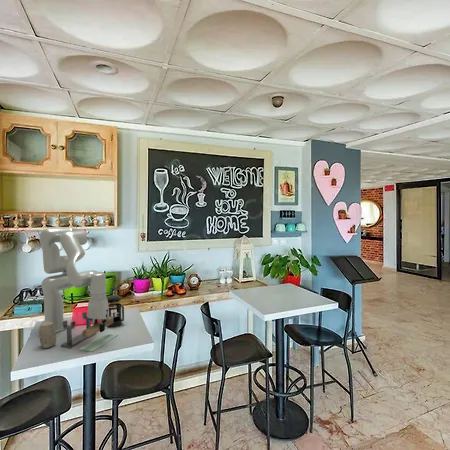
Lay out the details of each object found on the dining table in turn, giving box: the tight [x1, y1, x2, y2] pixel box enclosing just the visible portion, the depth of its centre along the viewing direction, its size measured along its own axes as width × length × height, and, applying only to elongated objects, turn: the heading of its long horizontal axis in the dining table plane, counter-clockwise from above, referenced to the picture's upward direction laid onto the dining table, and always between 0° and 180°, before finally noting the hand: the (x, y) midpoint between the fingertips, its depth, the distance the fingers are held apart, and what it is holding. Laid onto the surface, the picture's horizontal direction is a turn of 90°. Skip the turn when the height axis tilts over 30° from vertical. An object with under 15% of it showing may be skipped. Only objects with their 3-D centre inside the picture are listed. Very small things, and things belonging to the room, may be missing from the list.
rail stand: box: [60, 311, 97, 349], centre depth 157 cm, size 6×19×12 cm, turn 165°
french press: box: [106, 286, 125, 329], centre depth 178 cm, size 12×9×23 cm
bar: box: [82, 317, 114, 337], centre depth 154 cm, size 3×20×3 cm, turn 165°
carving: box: [38, 322, 57, 349], centre depth 150 cm, size 6×8×12 cm
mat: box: [78, 332, 119, 353], centre depth 154 cm, size 8×20×1 cm, turn 165°
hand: (99, 330), depth 154 cm, fingers closed on bar, 3 cm apart
